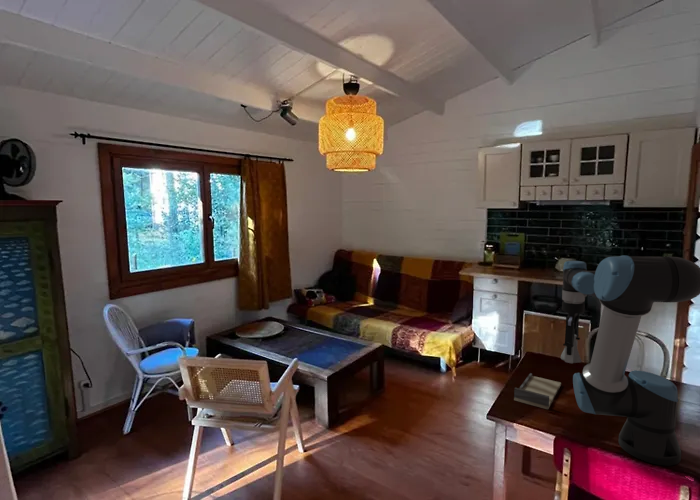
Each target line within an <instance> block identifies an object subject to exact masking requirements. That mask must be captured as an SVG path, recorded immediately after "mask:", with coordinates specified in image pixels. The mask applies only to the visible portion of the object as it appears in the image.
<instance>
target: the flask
mask: <svg viewBox="0 0 700 500" xmlns="http://www.w3.org/2000/svg"><path fill="white" fill-rule="evenodd" d="M576 337H577V335H575V334H574V343H573V345H574V357H573V364H576V363H577V364H578V363H582V358H581V355H580V353H579V349H578V345H577V346H576ZM560 359H561V360H562V361H564V362H565V347H564V348H563V351H562V352H561V355H560Z"/></svg>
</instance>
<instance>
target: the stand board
mask: <svg viewBox="0 0 700 500" xmlns="http://www.w3.org/2000/svg"><path fill="white" fill-rule="evenodd" d="M560 387H562V382H560V381H557V380H556V381H555V380H551V379H547V378H543V377H538V376H535V375H533V373H531V372H530V373H529V374H528V375H527V377H526V378H525V380H524V381H523V382H522V384H521V385H520V386H519V387H514V391H513V393H514V395H513V401H516V402H519V403H522V404H526V405H530V406H534V407H537V408H541V409H545V410H549V409H550V407H551V406H552V403H553V402H554V399H555V398H556V395H557V394H558V392H559V390H560Z"/></svg>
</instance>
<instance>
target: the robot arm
mask: <svg viewBox="0 0 700 500" xmlns="http://www.w3.org/2000/svg"><path fill="white" fill-rule="evenodd" d="M562 273H563V274H562V291H561V293H562V294H561V295H562V296H561V300H562V303H561V311H563V312H565V313H567V316H566V317H565V331H564V332H565V334H564V336H565V337H564V343H563V346H564V348H565V361H564V363H567V364H568V363H569V364H574V363H573V357H574V345H573V343H574V334H575V335H577V337H576V346H577V347H578V341H580V339H581V338H580V337H579V336H580V335H579V332H580V331H579V329H580V327H579V324H580V314H583V313H585V307H586V306H585V300H586V298H587V296H588V295H593V294H595V296H596V298H597V299H598V300H599V303H600V304H601V305H602V306H603V309H602V312H601V317H600V322H599V325H598V330H597V334H596V339H595V343H594V347H593V352H592V356H591V358H590V359H591V360H590V363H587V364H586V365H584V366H583V369H582V372H581V373H580V372H575V373H574V374H573V375H572V384H573V385H572V386H573V393H574V396H575V401H576V404H577V406H578V408H579V409H580V411H582V412H584V413H587V414H593V415H603V416H613V417H625V418H626V421H625V422H624V424H623V426H622V427H621V430H620V432H619V434H618V445H619V446H620V448H622V450H623V451H624V452H626V453H628V454H629V455H630V456H632V457H634V458H636V459H638V460H640V459H641V460H640V461H643V460H644V461H643V462H646V463H650V464H653V465H658V466H668V467H669V466H675V465H678V464H679V463H680V462H681V460H682V450H681V448H680V447H681V446H680V443H679V441H678V437H677V435H676V426H677V425H676V423H677V412H678V411H677V410H678V402H679V398H678V397H679V396H678V387H677V385H676V384H674V382H673V381H672V380H669V379H668V378H665V377H664V376H661V375H658V374H657V373H652V372H648V371H645V370H638V369H636V370H635V369H634V370H631V371H630V372H629V374H628V376H626V375H625V373H626V370H627V367H628V363H629V359H630V356H631V352H632V350H633V347H634V346H633V345H634V343H635V340H636V337H637V333H638V330H639V329H638V328H639V325H640V322H641V319H642V317H643V316H645V315H648V314H649V313H650V312H651V311H652V308H653V305H654V303H682V302H687V301H690V300H692V299H693V300H694V299H695V298H696V297H698V296H699V295H700V265H698V264H697V263H695V262H693V261H691V260H689V259H686V258H684V257H680V256H670V255H669V256H639V255H638V256H636V255H635V256H629V255H620V256H615V255H614V256H608V257H605V258H604V259H602V260H601V261H600V262H599V264H598V265H597V267H596V269H595V270H588V268H587V263H586V262H585V261H581V260H567V261H566V260H565V262H564V263H563V269H562Z"/></svg>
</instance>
